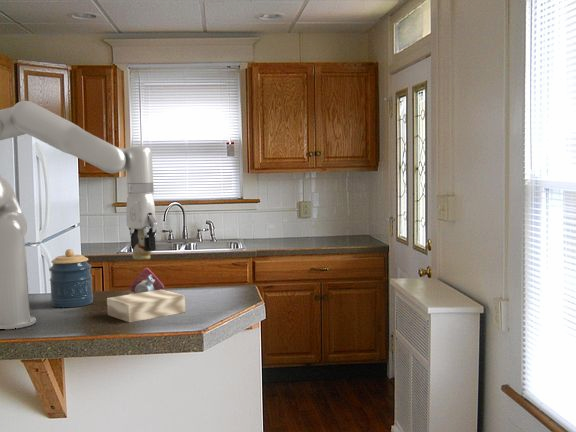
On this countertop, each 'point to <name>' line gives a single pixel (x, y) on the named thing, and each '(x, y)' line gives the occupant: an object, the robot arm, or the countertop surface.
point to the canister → (71, 281)
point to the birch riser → (145, 305)
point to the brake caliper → (146, 283)
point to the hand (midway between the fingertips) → (143, 249)
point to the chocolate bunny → (141, 247)
